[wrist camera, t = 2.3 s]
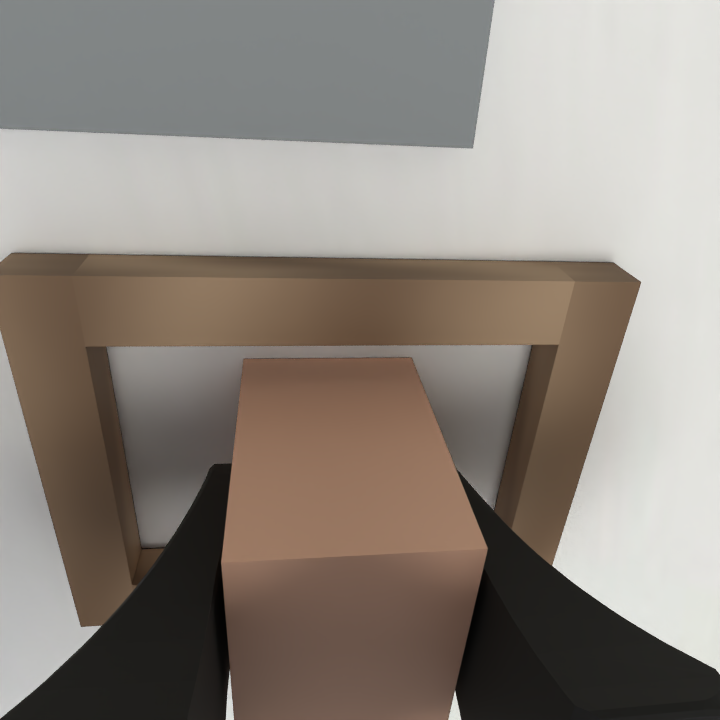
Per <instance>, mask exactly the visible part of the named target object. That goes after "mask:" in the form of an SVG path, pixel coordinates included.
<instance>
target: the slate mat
mask: <svg viewBox="0 0 720 720" xmlns="http://www.w3.org/2000/svg"><path fill="white" fill-rule="evenodd" d="M494 1H495V0H0V129H23V130H47V131H71V132H94V133H118V134H142V135H166V136H189V137H213V138H237V139H261V140H284V141H308V142H332V143H356V144H379V145H403V146H427V147H451V148H473V144H474V137H475V130H476V124H477V117H478V110H479V103H480V96H481V89H482V83H483V76H484V69H485V62H486V55H487V48H488V42H489V35H490V28H491V21H492V14H493V7H494Z"/></svg>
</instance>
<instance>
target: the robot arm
mask: <svg viewBox="0 0 720 720" xmlns="http://www.w3.org/2000/svg"><path fill="white" fill-rule="evenodd" d="M231 469H232V464H214V465H213V466H212V467H211V468H210V469H209V472H208V474H207V476H206V479H205V481H204V483H203V485H202V487H201V489H200V491H199V493H198V495H197V497H196V499H195V500H194V502H193V504H192V506H191V508H190V509H189V511H188V513H187V514H186V516H185V518H184V519H183V521H182V522H181V524H180V526H179V527H178V529H177V531H176V532H175V534H174V535H173V537H172V538H171V540H170V541H169V543H168V544H167V546H166V547H165V548H164V550H163V551H162V553H161V554H160V556H159V557H158V558H157V560H156V561H155V563H154V564H153V566H152V567H151V568H150V570H149V571H148V572H147V574H146V575H145V576H144V577H143V579H142V580H141V581H140V583H139V584H138V585H137V586H136V588H135V589H134V590H133V591H132V592H131V594H130V595H129V596H128V597H127V598H126V600H125V601H124V602H123V603H122V604H121V605H120V607H119V608H118V609H117V610H116V611H115V612H114V613H113V614H112V615H111V616H110V618H109V619H108V620H107V621H106V622H105V623H104V624H103V625H102V626H101V627H100V629H99V630H98V631H97V632H96V633H95V634H94V635H93V636H92V637H91V638H90V639H89V640H88V641H87V642H86V643H85V644H84V645H83V646H82V647H81V648H80V649H79V650H78V651H77V652H76V653H75V654H73V655H72V656H71V657H70V658H69V659H68V660H67V661H66V662H65V663H64V664H63V665H62V666H61V667H60V668H59V669H58V670H56V671H55V672H54V673H53V674H52V675H51V676H50V677H49V678H48V679H47V680H46V681H45V682H44V683H42V684H41V685H40V686H39V687H38V688H37V689H36V690H35V691H33V692H32V693H31V694H30V695H28V696H27V697H26V698H25V699H24V700H22V701H21V702H20V703H19V704H18V705H16V706H15V707H14V708H13V709H12V710H10V711H9V712H8V713H7V714H5V715H4V716H3V717H2V718H1V719H0V720H226V704H227V689H228V680H229V671H230V663H229V651H228V639H227V627H226V615H225V602H224V590H223V578H222V566H221V560H222V551H223V542H224V533H225V524H226V515H227V505H228V496H229V487H230V478H231ZM456 470H457V469H456ZM457 473H458V475H459V478H460V480H461V483H462V485H463V488H464V490H465V493H466V495H467V498H468V500H469V503H470V505H471V508H472V510H473V513H474V515H475V518H476V520H477V523H478V525H479V528H480V530H481V533H482V535H483V538H484V540H485V543H486V545H487V548H488V550H487V555H486V559H485V563H484V567H483V572H482V576H481V580H480V585H479V589H478V593H477V597H476V602H475V606H474V610H473V615H472V619H471V623H470V627H469V632H468V636H467V640H466V645H465V649H464V653H463V657H462V662H461V666H460V670H459V675H458V679H457V683H456V687H455V691H456V696H457V701H458V705H459V710H460V715H461V720H720V674H719V673H718V672H717V671H716V669H714V668H712V667H710V666H708V665H706V664H704V663H703V662H701V661H699V660H697V659H695V658H693V657H691V656H689V655H687V654H685V653H683V652H682V651H680V650H678V649H676V648H674V647H672V646H670V645H668V644H666V643H665V642H663V641H661V640H659V639H658V638H656V637H654V636H652V635H651V634H649V633H647V632H646V631H644V630H643V629H641V628H639V627H638V626H636V625H634V624H633V623H631V622H629V621H628V620H626V619H625V618H623V617H621V616H620V615H618V614H617V613H615V612H614V611H612V610H611V609H609V608H608V607H606V606H605V605H603V604H602V603H601V602H599V601H598V600H596V599H595V598H593V597H592V596H591V595H589V594H588V593H586V592H585V591H583V590H582V589H581V588H579V587H578V586H577V585H575V584H574V583H573V582H571V581H570V580H569V579H567V578H566V577H565V576H564V575H563V574H561V573H560V572H559V571H558V570H556V569H555V568H554V567H553V566H551V565H550V564H549V563H548V562H547V561H545V560H544V559H543V558H542V557H541V556H540V555H538V554H537V553H536V552H535V551H534V550H533V549H532V548H531V547H529V546H528V545H527V544H526V543H525V542H524V541H523V540H522V539H521V538H520V537H519V536H518V535H517V534H516V533H515V532H514V531H513V530H512V529H511V528H510V527H509V526H508V525H507V524H506V523H505V522H504V521H503V520H502V519H501V518H500V517H499V516H498V515H497V514H496V513H495V512H494V511H493V509H492V508H491V507H490V506H489V505H488V504H487V503H486V502H485V501H484V500H483V499H482V498H481V496H480V495H479V494H478V493H477V492H476V491H475V490H474V488H473V487H472V486H471V485H470V484H469V483H468V482H467V480H466V479H465V478H464V477H463V476H462V475H461V473H460V472H459V471H458V470H457Z"/></svg>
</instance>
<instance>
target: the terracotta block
mask: <svg viewBox="0 0 720 720" xmlns="http://www.w3.org/2000/svg"><path fill="white" fill-rule="evenodd" d="M487 550H488V548H487V545H486V543H485V540H484V538H483V535H482V533H481V530H480V528H479V525H478V523H477V520H476V518H475V515H474V513H473V510H472V508H471V505H470V503H469V500H468V498H467V495H466V493H465V490H464V488H463V485H462V483H461V480H460V478H459V475H458V473H457V470H456V468H455V465H454V463H453V460H452V458H451V455H450V453H449V450H448V448H447V445H446V443H445V440H444V438H443V435H442V433H441V430H440V428H439V425H438V423H437V420H436V418H435V415H434V413H433V410H432V408H431V405H430V403H429V400H428V398H427V395H426V393H425V390H424V388H423V385H422V383H421V380H420V378H419V375H418V373H417V370H416V368H415V365H414V363H413V360H412V358H301V359H243V368H242V377H241V387H240V396H239V405H238V414H237V423H236V432H235V441H234V451H233V460H232V469H231V478H230V487H229V496H228V505H227V515H226V524H225V533H224V542H223V551H222V560H221V566H222V578H223V590H224V602H225V615H226V627H227V639H228V651H229V663H230V675H231V687H232V699H233V711H234V720H448V718H449V713H450V709H451V705H452V700H453V696H454V692H455V687H456V683H457V679H458V675H459V670H460V666H461V662H462V657H463V653H464V649H465V645H466V640H467V636H468V632H469V627H470V623H471V619H472V615H473V610H474V606H475V602H476V597H477V593H478V589H479V585H480V580H481V576H482V572H483V567H484V563H485V559H486V555H487Z"/></svg>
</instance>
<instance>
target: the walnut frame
mask: <svg viewBox="0 0 720 720" xmlns="http://www.w3.org/2000/svg"><path fill="white" fill-rule="evenodd" d="M640 284H641V282H640V281H639V280H637V279H636V278H635V277H633V276H632V275H630V274H629V273H627V272H626V271H625V270H623V269H622V268H620V267H619V266H617V265H616V264H615V263H605V262H541V261H477V260H414V259H350V258H286V257H223V256H159V255H95V254H31V253H11V254H10V255H9V256H7V257H6V258H5V259H4V260H3V261H2V262H0V330H1V334H2V338H3V341H4V345H5V349H6V353H7V356H8V360H9V364H10V367H11V371H12V375H13V378H14V382H15V386H16V389H17V393H18V397H19V400H20V404H21V408H22V411H23V415H24V419H25V423H26V426H27V430H28V434H29V437H30V441H31V445H32V448H33V452H34V456H35V459H36V463H37V467H38V470H39V474H40V478H41V481H42V485H43V489H44V493H45V496H46V500H47V504H48V507H49V511H50V515H51V518H52V522H53V526H54V529H55V533H56V537H57V540H58V544H59V548H60V551H61V555H62V559H63V563H64V566H65V570H66V574H67V577H68V581H69V585H70V588H71V592H72V596H73V599H74V603H75V607H76V610H77V614H78V618H79V621H80V625H81V627H85V626H101V625H103V624H104V623H105V622H106V621H107V620H108V619H109V618H110V616H111V615H112V614H113V613H114V612H115V611H116V610H117V609H118V608H119V607H120V605H121V604H122V603H123V602H124V601H125V600H126V598H127V597H128V596H129V595H130V594H131V592H132V591H133V590H134V589H135V588H136V586H137V585H138V584H139V583H140V581H141V580H142V579H143V577H144V576H145V575H146V574H147V572H148V571H149V570H150V568H151V567H152V566H153V564H154V563H155V561H156V560H157V558H158V557H159V556H160V554H161V553H162V551H163V550H164V548H161V549H141V544H140V538H139V533H138V527H137V521H136V516H135V510H134V504H133V498H132V493H131V487H130V481H129V476H128V470H127V464H126V458H125V453H124V447H123V441H122V436H121V430H120V424H119V419H118V413H117V407H116V401H115V396H114V390H113V384H112V379H111V373H110V367H109V361H108V356H107V350H106V346H341V345H533V346H532V350H531V355H530V359H529V363H528V368H527V372H526V376H525V381H524V385H523V389H522V394H521V398H520V402H519V407H518V411H517V415H516V420H515V424H514V428H513V433H512V437H511V441H510V446H509V450H508V454H507V459H506V463H505V467H504V472H503V476H502V480H501V485H500V489H499V493H498V498H497V502H496V506H495V511H494V512H495V513H496V514H497V515H498V516H499V517H500V518H501V519H502V520H503V521H504V522H505V523H506V524H507V525H508V526H509V527H510V528H511V529H512V530H513V531H514V532H515V533H516V534H517V535H518V536H519V537H520V538H521V539H522V540H523V541H524V542H525V543H526V544H527V545H528V546H529V547H531V548H532V549H533V550H534V551H535V552H536V553H537V554H538V555H540V556H541V557H542V558H543V559H544V560H545V561H547V562H548V563H549V564H550V565H551V566H552V564H553V561H554V558H555V554H556V551H557V548H558V545H559V542H560V538H561V535H562V532H563V529H564V526H565V523H566V519H567V516H568V513H569V510H570V507H571V504H572V500H573V497H574V494H575V491H576V488H577V484H578V481H579V478H580V475H581V472H582V469H583V465H584V462H585V459H586V456H587V453H588V450H589V446H590V443H591V440H592V437H593V434H594V431H595V427H596V424H597V421H598V418H599V415H600V411H601V408H602V405H603V402H604V399H605V396H606V392H607V389H608V386H609V383H610V380H611V377H612V373H613V370H614V367H615V364H616V361H617V357H618V354H619V351H620V348H621V345H622V342H623V338H624V335H625V332H626V329H627V326H628V323H629V319H630V316H631V313H632V310H633V307H634V304H635V300H636V297H637V294H638V291H639V288H640Z"/></svg>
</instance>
